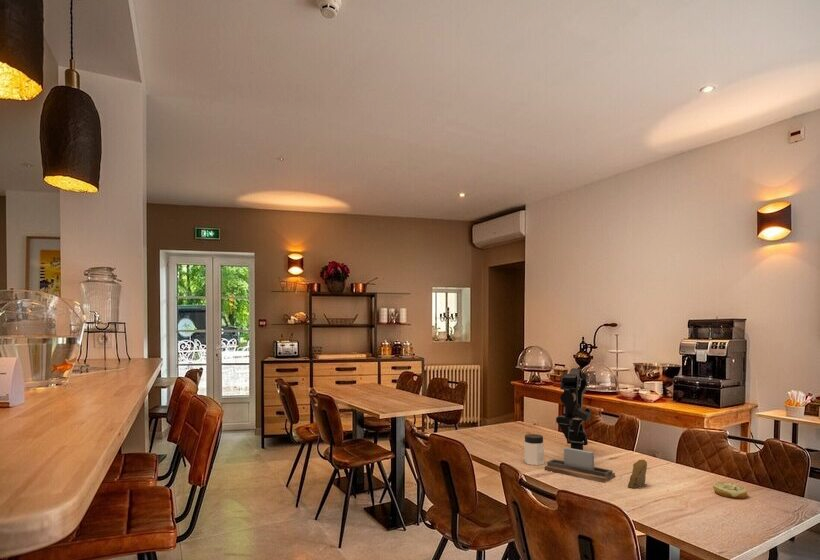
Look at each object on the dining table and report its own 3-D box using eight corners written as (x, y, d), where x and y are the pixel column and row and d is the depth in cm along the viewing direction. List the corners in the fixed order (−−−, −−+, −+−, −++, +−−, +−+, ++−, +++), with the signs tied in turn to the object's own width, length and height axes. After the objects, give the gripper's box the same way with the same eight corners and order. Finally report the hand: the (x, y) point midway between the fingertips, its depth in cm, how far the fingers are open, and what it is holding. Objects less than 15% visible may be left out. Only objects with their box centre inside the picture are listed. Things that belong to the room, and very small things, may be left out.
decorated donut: (739, 502, 185) (738, 491, 186) (708, 493, 194) (707, 483, 195) (752, 496, 191) (752, 485, 192) (721, 488, 200) (721, 478, 200)
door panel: (567, 466, 224) (566, 447, 225) (594, 471, 216) (593, 452, 217) (564, 467, 222) (564, 448, 223) (591, 473, 214) (591, 453, 215)
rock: (635, 485, 196) (657, 479, 199) (623, 463, 202) (645, 457, 204) (623, 495, 204) (644, 489, 207) (611, 474, 210) (632, 468, 212)
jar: (534, 466, 229) (533, 438, 230) (520, 462, 236) (520, 435, 237) (548, 463, 234) (547, 436, 235) (534, 459, 241) (534, 433, 242)
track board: (556, 464, 232) (556, 458, 232) (614, 476, 215) (614, 469, 215) (544, 470, 224) (544, 463, 224) (604, 482, 206) (604, 474, 207)
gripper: (579, 406, 223) (580, 443, 221) (596, 401, 236) (597, 436, 235) (555, 403, 230) (555, 439, 229) (573, 399, 244) (574, 433, 243)
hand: (571, 437), depth 234 cm, fingers open, 9 cm apart
